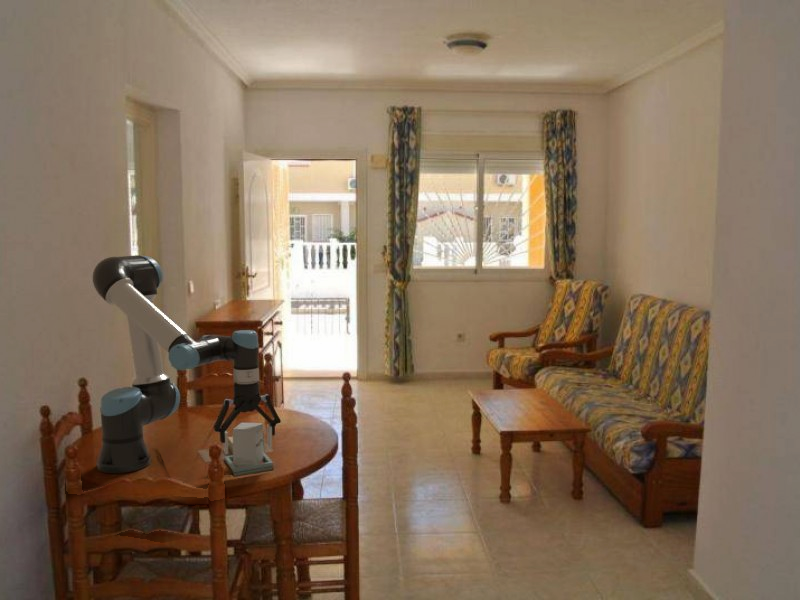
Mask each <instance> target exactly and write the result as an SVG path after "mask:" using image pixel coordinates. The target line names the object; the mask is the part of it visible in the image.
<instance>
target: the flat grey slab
mask: <svg viewBox="0 0 800 600" xmlns="http://www.w3.org/2000/svg"><path fill="white" fill-rule="evenodd" d="M220 447H221V448H222V454H221V457H220V460H219V461H222V460H225V456H231V455H233V454H232V452H231V451H230V450H229V448H228V454H225V452H224V446H220ZM209 449H210V448H208V449H207V448H206V449H200V450H197V453H198V454H199V456H200V457H201V459H202V460H203V462H204V463H210V462H212V461H211V459H210V457H209ZM263 452H264V453H265V454H268V453H273V452H275V450H274V449H273V447H269V446H268V445H267V442H266V441H265V432H264V430H263Z"/></svg>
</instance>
